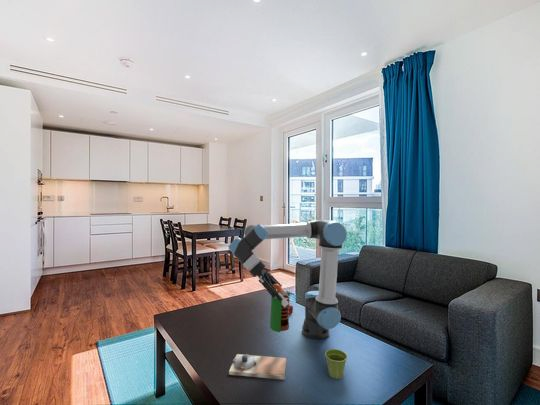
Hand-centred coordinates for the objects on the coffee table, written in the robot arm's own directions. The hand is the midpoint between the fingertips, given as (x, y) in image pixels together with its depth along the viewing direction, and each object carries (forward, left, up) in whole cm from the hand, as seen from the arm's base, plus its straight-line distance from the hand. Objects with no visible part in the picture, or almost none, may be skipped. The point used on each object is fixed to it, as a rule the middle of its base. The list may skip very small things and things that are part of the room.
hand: (287, 302), depth 130 cm
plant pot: (-22, +8, -28) cm, 36 cm away
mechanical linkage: (+6, -48, -28) cm, 56 cm away
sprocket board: (+12, +8, -28) cm, 31 cm away
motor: (+4, 0, -13) cm, 13 cm away
